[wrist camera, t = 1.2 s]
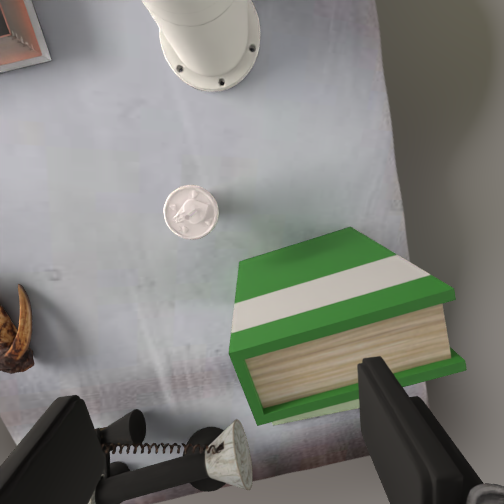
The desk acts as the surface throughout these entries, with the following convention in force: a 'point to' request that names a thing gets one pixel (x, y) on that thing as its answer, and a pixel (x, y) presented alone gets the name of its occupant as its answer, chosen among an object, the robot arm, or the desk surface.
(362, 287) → the hardback book
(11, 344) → the bone fish hook
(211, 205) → the smoothie
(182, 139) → the desk surface
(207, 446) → the telephone
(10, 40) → the picture frame
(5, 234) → the desk surface
